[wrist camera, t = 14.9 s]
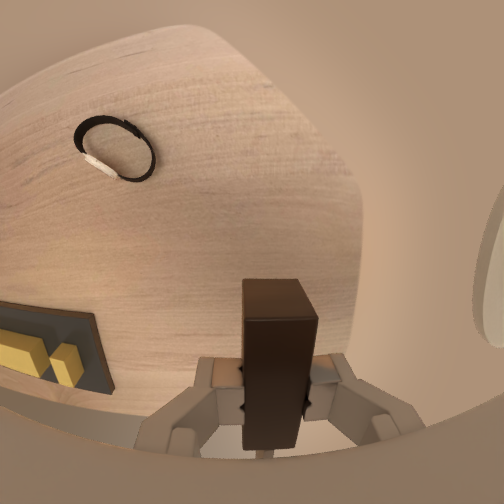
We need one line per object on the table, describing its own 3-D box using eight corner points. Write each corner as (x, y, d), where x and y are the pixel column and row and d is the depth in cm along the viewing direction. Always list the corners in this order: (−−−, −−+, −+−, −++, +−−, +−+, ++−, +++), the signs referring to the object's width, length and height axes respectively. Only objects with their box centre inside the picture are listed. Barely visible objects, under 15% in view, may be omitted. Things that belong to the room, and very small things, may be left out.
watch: (76, 154, 20) (54, 153, 17) (102, 106, 19) (82, 98, 16) (143, 196, 22) (127, 201, 18) (172, 145, 21) (160, 141, 17)
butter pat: (76, 345, 24) (63, 361, 21) (84, 371, 25) (74, 388, 22) (61, 342, 24) (48, 357, 21) (70, 368, 25) (59, 384, 22)
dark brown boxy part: (298, 277, 10) (319, 316, 7) (275, 463, 13) (280, 503, 10) (242, 277, 10) (243, 318, 7) (241, 464, 13) (242, 504, 10)
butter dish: (93, 313, 24) (88, 319, 23) (115, 388, 27) (111, 395, 26) (-16, 298, 23) (-21, 301, 22) (7, 362, 26) (3, 366, 25)
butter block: (42, 338, 24) (28, 352, 21) (51, 363, 25) (39, 378, 22) (-12, 325, 23) (-25, 335, 20) (-4, 347, 24) (-15, 359, 21)
